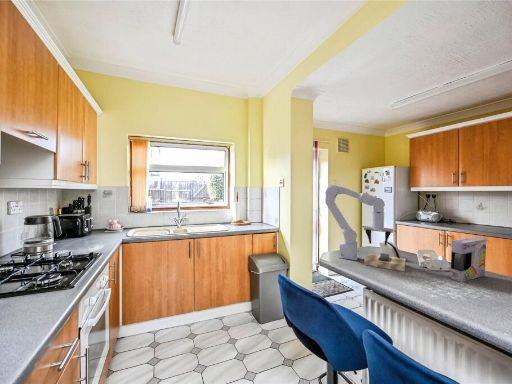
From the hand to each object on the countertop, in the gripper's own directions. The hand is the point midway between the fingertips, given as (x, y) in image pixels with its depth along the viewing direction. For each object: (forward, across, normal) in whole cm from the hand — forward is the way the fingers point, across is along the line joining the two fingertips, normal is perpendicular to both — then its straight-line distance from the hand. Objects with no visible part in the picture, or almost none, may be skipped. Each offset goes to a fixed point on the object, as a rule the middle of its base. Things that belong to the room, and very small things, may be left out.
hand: (377, 244), depth 134 cm
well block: (+9, +4, -5) cm, 11 cm away
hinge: (+10, +5, +15) cm, 19 cm away
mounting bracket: (+10, +25, +3) cm, 27 cm away
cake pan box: (+10, +37, -6) cm, 39 cm away
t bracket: (+10, +4, -6) cm, 12 cm away
